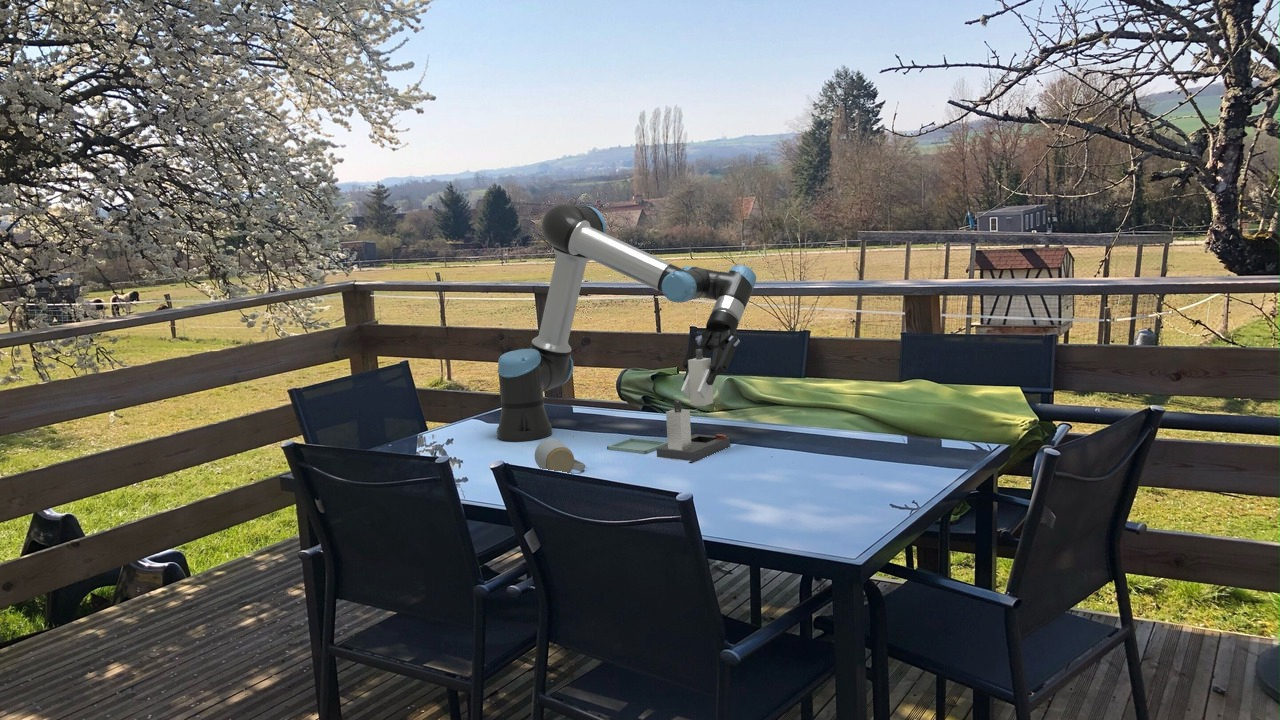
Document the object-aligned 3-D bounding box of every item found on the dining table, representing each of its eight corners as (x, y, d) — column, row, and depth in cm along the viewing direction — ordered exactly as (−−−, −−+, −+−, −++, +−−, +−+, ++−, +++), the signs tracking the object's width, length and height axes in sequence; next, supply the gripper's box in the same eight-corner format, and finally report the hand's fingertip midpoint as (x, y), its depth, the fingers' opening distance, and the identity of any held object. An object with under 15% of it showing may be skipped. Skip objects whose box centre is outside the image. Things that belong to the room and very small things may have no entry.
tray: (607, 451, 222) (606, 446, 222) (631, 443, 230) (630, 437, 230) (645, 456, 215) (645, 450, 215) (669, 447, 223) (669, 442, 223)
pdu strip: (657, 458, 212) (653, 401, 210) (695, 443, 225) (693, 389, 224) (692, 463, 206) (689, 404, 204) (730, 447, 219) (727, 391, 218)
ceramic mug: (546, 480, 198) (544, 446, 197) (535, 472, 205) (533, 440, 205) (591, 473, 203) (589, 440, 202) (578, 466, 210) (576, 434, 209)
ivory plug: (690, 404, 217) (687, 350, 215) (699, 401, 220) (696, 348, 218) (704, 405, 214) (701, 350, 213) (713, 402, 218) (710, 348, 216)
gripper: (760, 327, 222) (729, 405, 211) (702, 327, 232) (670, 401, 221) (748, 308, 217) (716, 386, 206) (690, 309, 227) (656, 383, 216)
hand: (692, 394), depth 214 cm, fingers closed on ivory plug, 4 cm apart
